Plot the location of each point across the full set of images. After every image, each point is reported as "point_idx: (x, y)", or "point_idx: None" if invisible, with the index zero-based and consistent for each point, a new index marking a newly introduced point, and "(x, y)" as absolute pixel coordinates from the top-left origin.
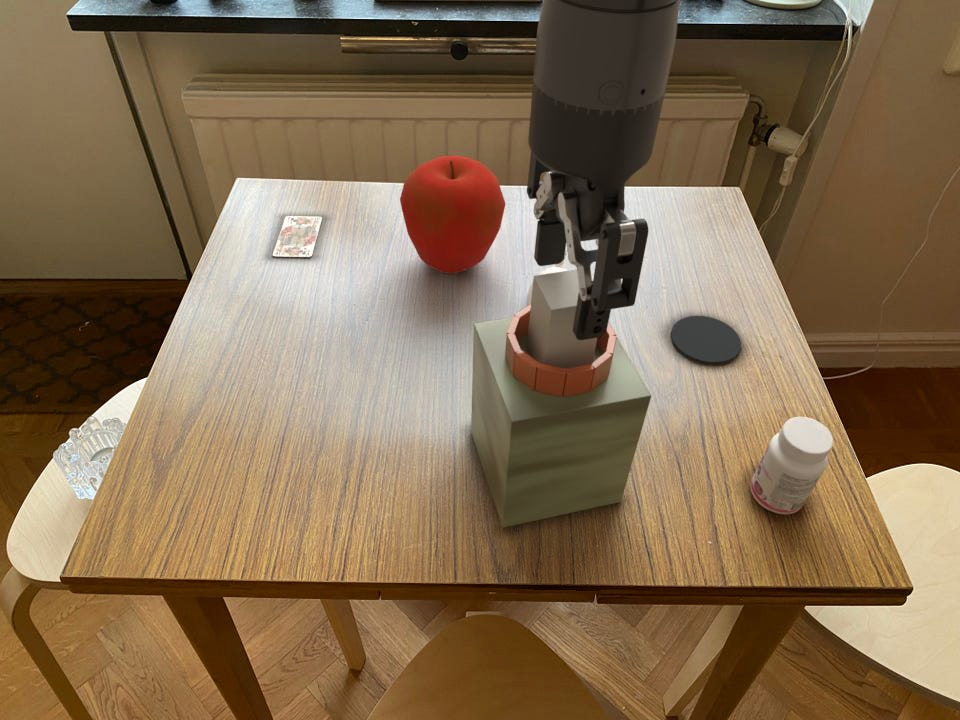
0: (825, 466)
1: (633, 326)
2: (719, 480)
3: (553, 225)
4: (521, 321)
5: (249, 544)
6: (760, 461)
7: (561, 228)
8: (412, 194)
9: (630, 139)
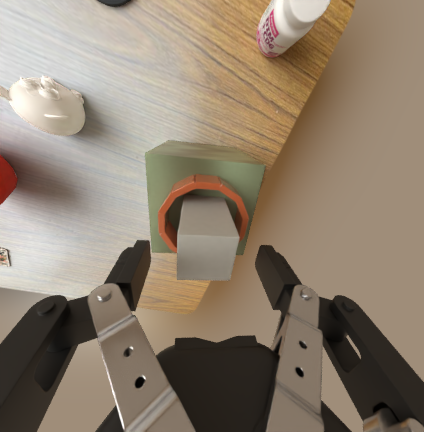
0: None
1: (78, 35)
2: (247, 73)
3: (134, 297)
4: (174, 242)
5: (199, 281)
6: (266, 38)
7: (134, 282)
8: None
9: None
